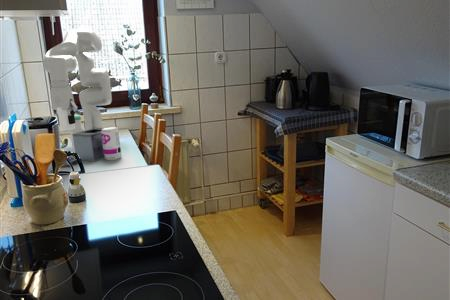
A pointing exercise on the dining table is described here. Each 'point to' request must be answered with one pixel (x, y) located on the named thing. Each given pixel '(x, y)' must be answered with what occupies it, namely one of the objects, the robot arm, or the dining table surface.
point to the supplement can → (111, 143)
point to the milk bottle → (76, 129)
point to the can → (64, 120)
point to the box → (89, 144)
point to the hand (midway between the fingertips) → (66, 123)
